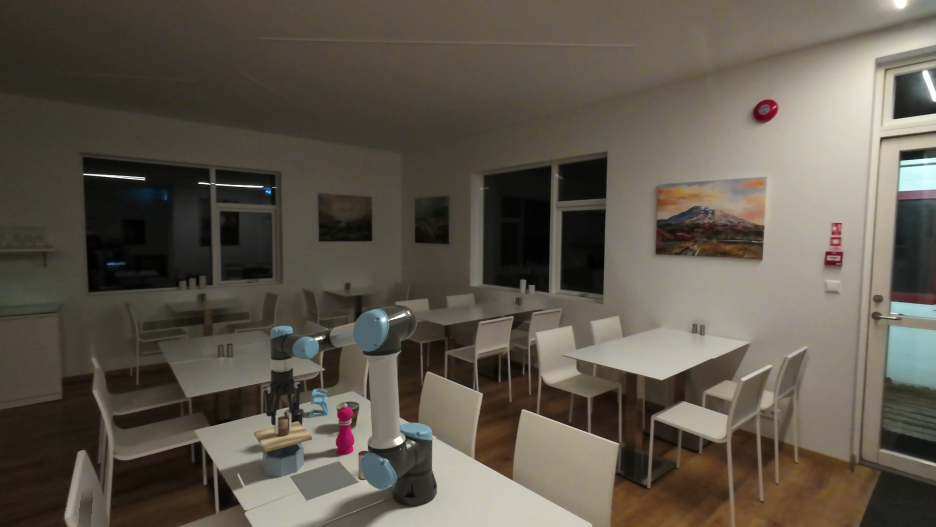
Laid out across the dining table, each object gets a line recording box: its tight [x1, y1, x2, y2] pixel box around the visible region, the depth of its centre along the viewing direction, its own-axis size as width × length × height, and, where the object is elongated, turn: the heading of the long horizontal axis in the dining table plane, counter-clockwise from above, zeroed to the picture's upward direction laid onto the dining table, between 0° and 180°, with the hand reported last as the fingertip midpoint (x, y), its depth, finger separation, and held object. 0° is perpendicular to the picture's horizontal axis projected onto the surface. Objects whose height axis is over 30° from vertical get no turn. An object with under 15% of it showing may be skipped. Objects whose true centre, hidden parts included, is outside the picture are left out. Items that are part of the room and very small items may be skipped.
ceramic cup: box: [336, 400, 360, 430], centre depth 200 cm, size 13×10×10 cm
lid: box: [253, 415, 313, 452], centre depth 165 cm, size 16×16×7 cm
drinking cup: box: [283, 396, 305, 426], centre depth 185 cm, size 8×8×20 cm
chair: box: [308, 388, 330, 418], centre depth 215 cm, size 8×8×12 cm
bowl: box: [262, 443, 305, 478], centre depth 166 cm, size 13×13×7 cm
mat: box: [289, 460, 359, 501], centre depth 159 cm, size 18×18×1 cm
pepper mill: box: [335, 403, 355, 456], centre depth 178 cm, size 7×7×20 cm
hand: (282, 430), depth 165 cm, fingers closed on lid, 4 cm apart
